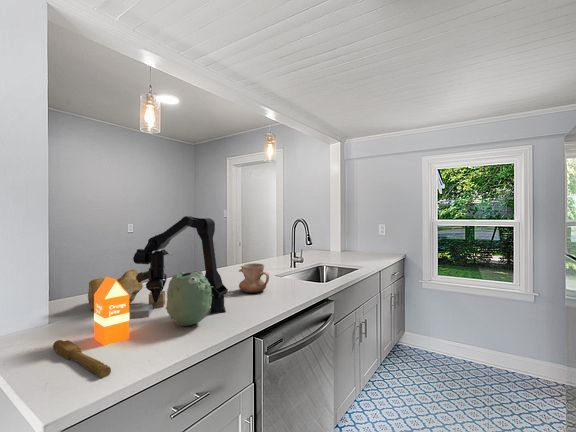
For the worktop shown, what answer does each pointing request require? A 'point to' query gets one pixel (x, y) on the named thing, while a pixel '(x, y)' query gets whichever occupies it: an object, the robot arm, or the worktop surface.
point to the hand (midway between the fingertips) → (157, 299)
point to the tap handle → (81, 358)
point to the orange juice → (111, 313)
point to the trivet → (140, 310)
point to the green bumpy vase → (188, 298)
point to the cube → (160, 302)
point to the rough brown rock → (125, 281)
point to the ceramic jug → (253, 278)
